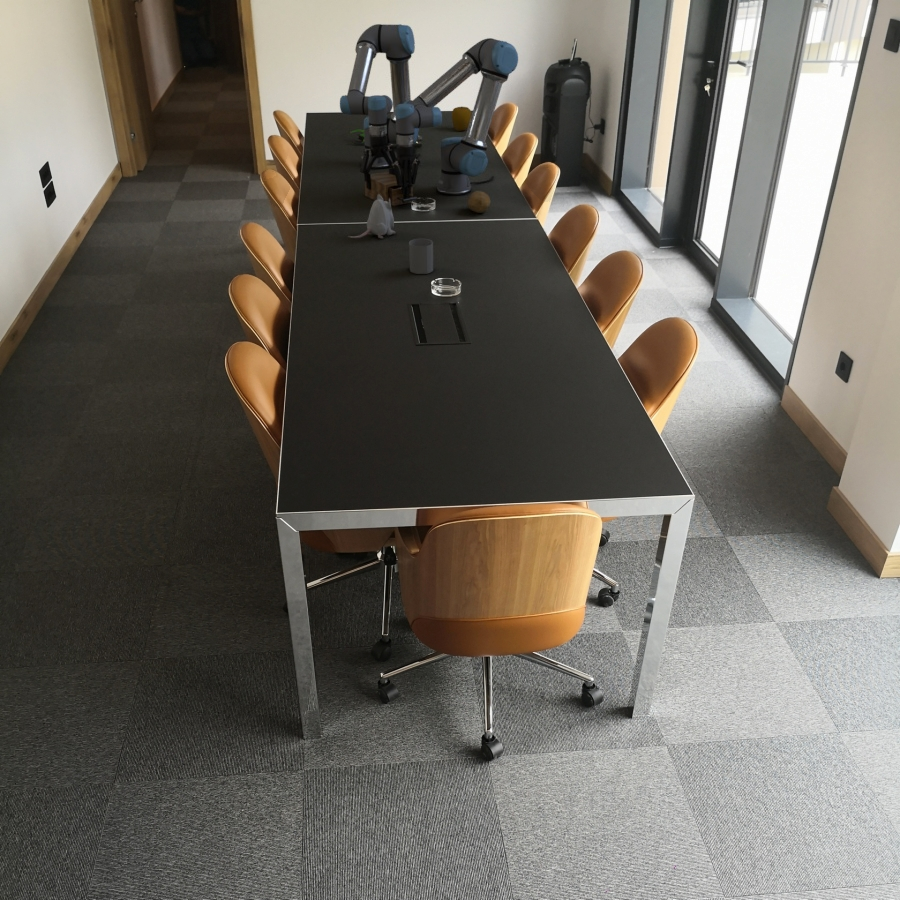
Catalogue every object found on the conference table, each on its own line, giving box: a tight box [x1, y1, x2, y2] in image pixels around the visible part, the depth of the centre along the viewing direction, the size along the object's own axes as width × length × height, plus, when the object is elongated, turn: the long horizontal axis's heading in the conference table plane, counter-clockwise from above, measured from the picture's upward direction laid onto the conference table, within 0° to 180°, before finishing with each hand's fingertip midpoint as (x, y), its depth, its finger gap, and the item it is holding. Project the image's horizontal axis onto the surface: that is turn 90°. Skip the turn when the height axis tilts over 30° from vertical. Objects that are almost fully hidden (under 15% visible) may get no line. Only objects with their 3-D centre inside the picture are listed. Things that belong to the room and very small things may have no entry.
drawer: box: [388, 185, 418, 207], centre depth 373 cm, size 22×10×7 cm, turn 36°
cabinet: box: [364, 171, 397, 206], centre depth 378 cm, size 18×11×9 cm, turn 36°
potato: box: [467, 190, 491, 214], centre depth 363 cm, size 10×14×8 cm
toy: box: [347, 194, 396, 240], centre depth 332 cm, size 9×24×15 cm, turn 137°
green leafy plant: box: [348, 128, 365, 146], centre depth 466 cm, size 6×13×30 cm
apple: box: [451, 105, 472, 132], centre depth 487 cm, size 11×11×13 cm
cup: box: [408, 237, 434, 275], centre depth 305 cm, size 8×8×10 cm
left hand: (380, 186), depth 382 cm, fingers closed on cabinet, 11 cm apart
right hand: (406, 201), depth 368 cm, fingers closed
